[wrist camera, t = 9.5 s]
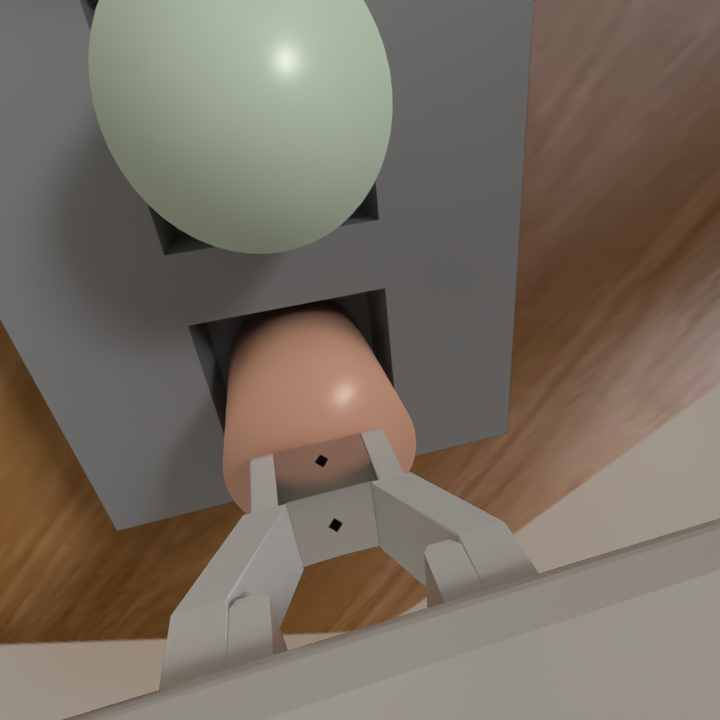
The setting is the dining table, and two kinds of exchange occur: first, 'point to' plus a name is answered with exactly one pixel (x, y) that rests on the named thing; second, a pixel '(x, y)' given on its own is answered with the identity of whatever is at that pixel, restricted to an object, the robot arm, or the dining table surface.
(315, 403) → the terracotta button
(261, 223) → the sage button
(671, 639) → the robot arm
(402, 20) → the grey rectangular tray
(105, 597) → the dining table surface
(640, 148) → the dining table surface
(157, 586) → the dining table surface
